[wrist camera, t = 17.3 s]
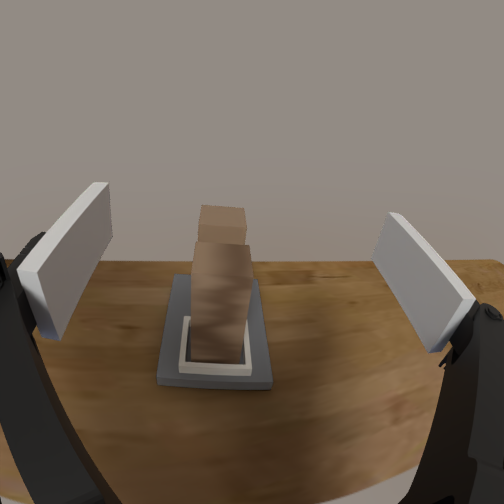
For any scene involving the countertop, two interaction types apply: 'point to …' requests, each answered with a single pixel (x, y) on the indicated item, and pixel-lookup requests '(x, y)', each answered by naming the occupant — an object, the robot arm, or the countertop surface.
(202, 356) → the pillar
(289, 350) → the countertop surface
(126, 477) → the countertop surface
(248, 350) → the baseplate
